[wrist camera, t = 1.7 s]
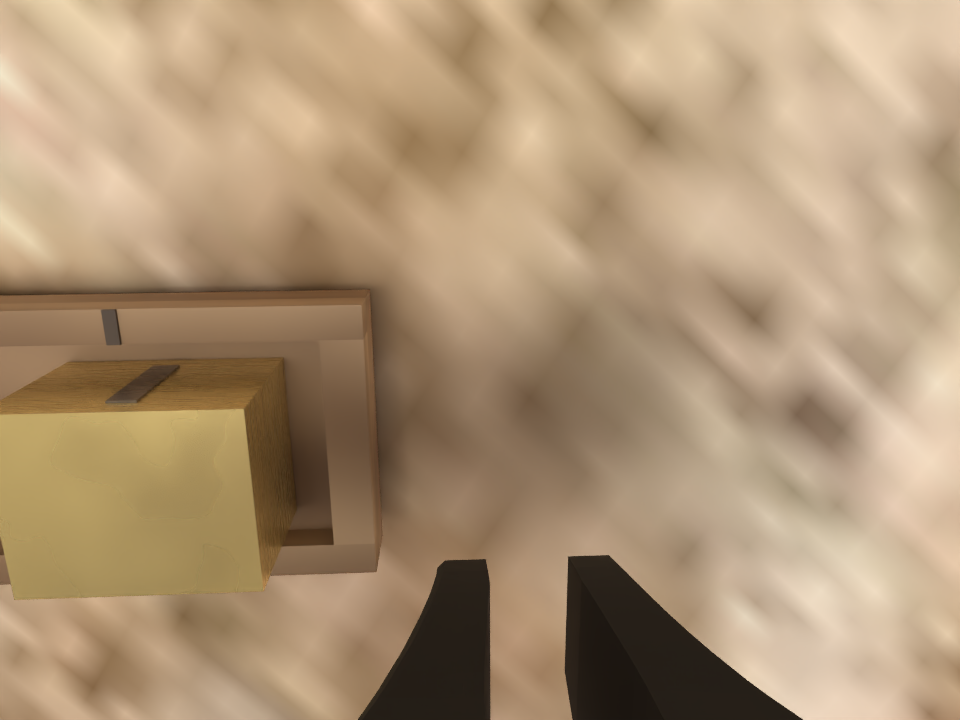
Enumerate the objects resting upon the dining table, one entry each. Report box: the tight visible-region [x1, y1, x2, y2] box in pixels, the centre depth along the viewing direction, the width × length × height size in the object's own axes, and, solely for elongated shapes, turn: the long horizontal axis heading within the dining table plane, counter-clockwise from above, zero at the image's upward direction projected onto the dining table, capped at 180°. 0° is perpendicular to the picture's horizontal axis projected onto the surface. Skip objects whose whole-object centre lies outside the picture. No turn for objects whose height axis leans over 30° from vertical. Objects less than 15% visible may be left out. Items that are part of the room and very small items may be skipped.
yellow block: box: [0, 358, 297, 600], centre depth 16 cm, size 4×5×4 cm
